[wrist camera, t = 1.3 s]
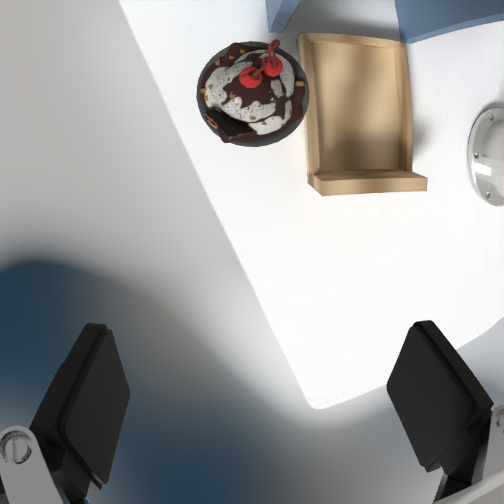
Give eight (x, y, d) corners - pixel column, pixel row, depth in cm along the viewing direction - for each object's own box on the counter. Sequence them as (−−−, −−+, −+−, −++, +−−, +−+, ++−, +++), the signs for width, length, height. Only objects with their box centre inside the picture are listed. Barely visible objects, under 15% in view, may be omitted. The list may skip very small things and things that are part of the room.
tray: (393, 46, 23) (420, 37, 18) (400, 178, 29) (426, 191, 24) (296, 38, 23) (309, 23, 18) (307, 182, 29) (322, 196, 24)
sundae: (273, 60, 24) (312, 5, 10) (291, 128, 27) (347, 138, 13) (201, 78, 24) (167, 36, 11) (221, 145, 27) (206, 172, 13)
